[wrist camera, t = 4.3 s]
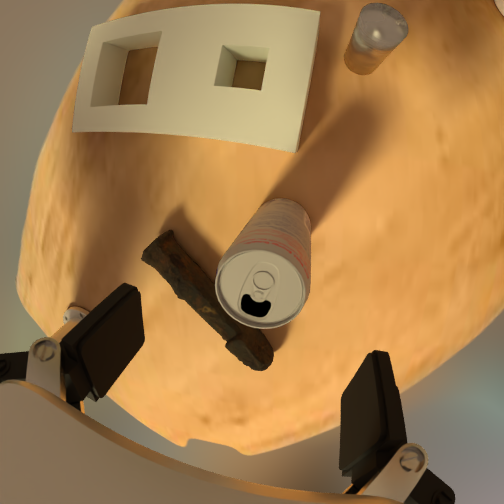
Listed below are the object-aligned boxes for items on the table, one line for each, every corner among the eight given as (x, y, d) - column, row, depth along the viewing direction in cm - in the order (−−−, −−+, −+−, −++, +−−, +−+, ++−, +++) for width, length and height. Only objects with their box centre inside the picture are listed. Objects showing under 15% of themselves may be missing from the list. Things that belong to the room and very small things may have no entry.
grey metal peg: (374, 79, 18) (407, 48, 10) (341, 69, 18) (358, 32, 10) (377, 52, 17) (408, 13, 9) (345, 42, 17) (362, -3, 9)
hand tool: (152, 244, 29) (129, 261, 25) (173, 224, 28) (151, 239, 24) (256, 357, 33) (249, 384, 29) (282, 346, 31) (276, 374, 27)
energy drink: (247, 242, 26) (204, 314, 16) (261, 190, 24) (221, 231, 13) (300, 259, 26) (291, 342, 15) (318, 207, 24) (325, 264, 13)
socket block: (297, 151, 22) (295, 153, 18) (99, 130, 25) (72, 132, 21) (319, 32, 17) (320, 11, 13) (116, 35, 20) (92, 26, 16)
